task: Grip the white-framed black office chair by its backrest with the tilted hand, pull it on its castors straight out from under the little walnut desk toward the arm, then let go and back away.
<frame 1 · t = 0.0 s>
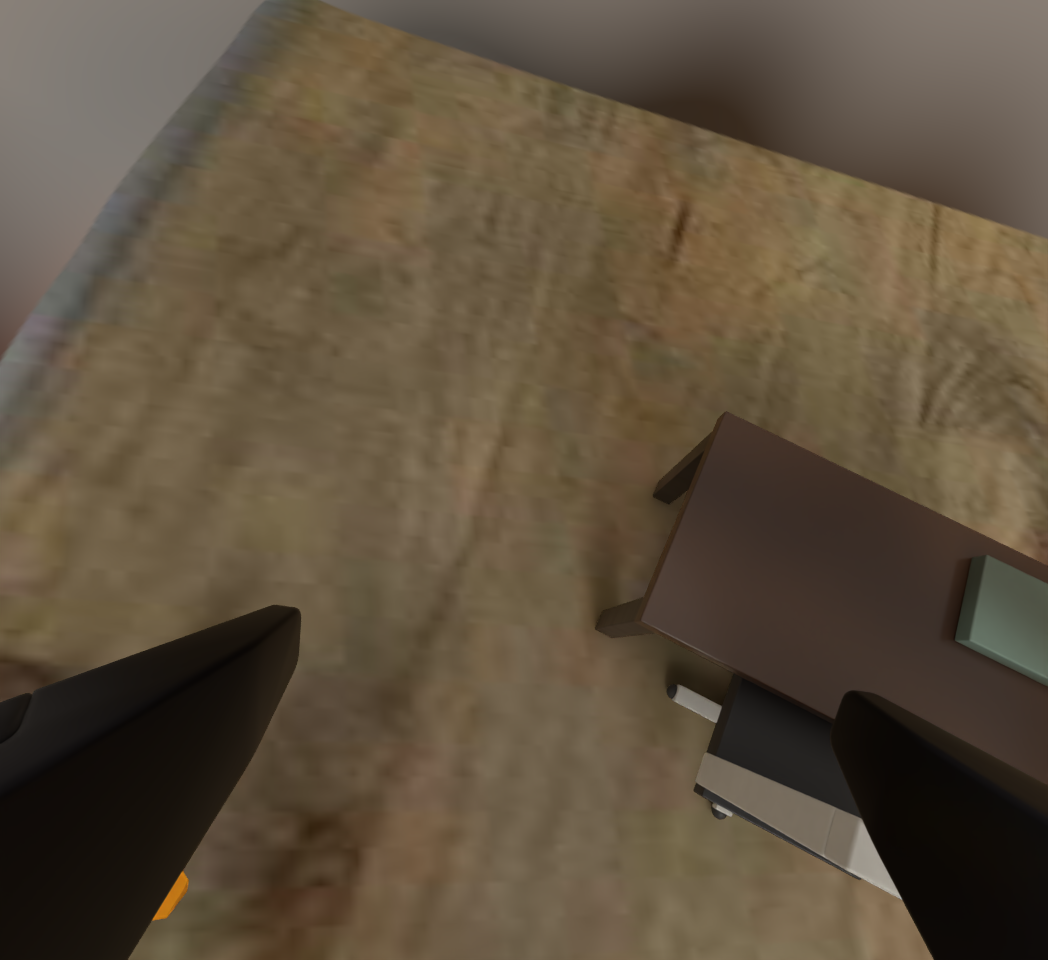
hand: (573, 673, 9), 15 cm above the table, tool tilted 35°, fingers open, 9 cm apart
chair: (742, 728, 23), on the table
toy figure: (218, 763, 21), on the table
desk: (775, 625, 24), on the table
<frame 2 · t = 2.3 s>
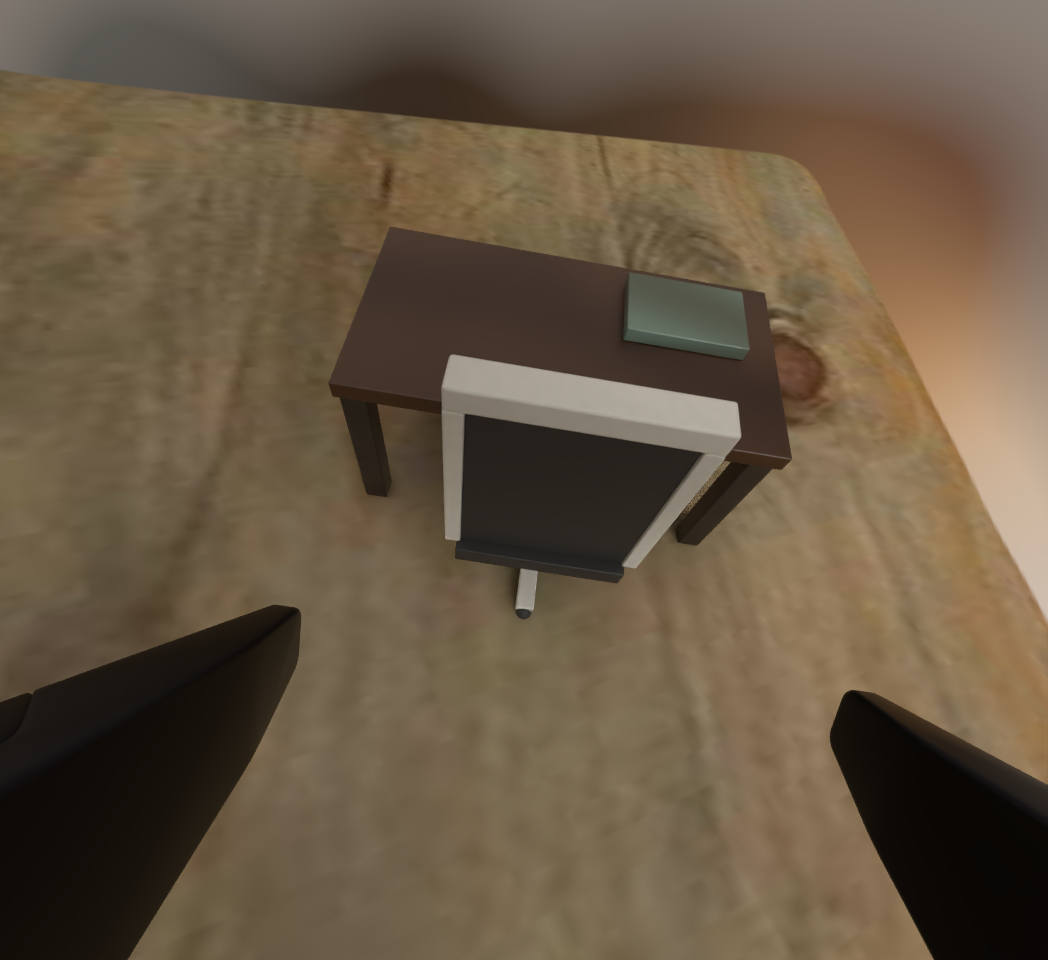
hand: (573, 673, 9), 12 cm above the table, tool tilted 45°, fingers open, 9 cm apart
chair: (531, 538, 23), on the table
desk: (542, 448, 26), on the table
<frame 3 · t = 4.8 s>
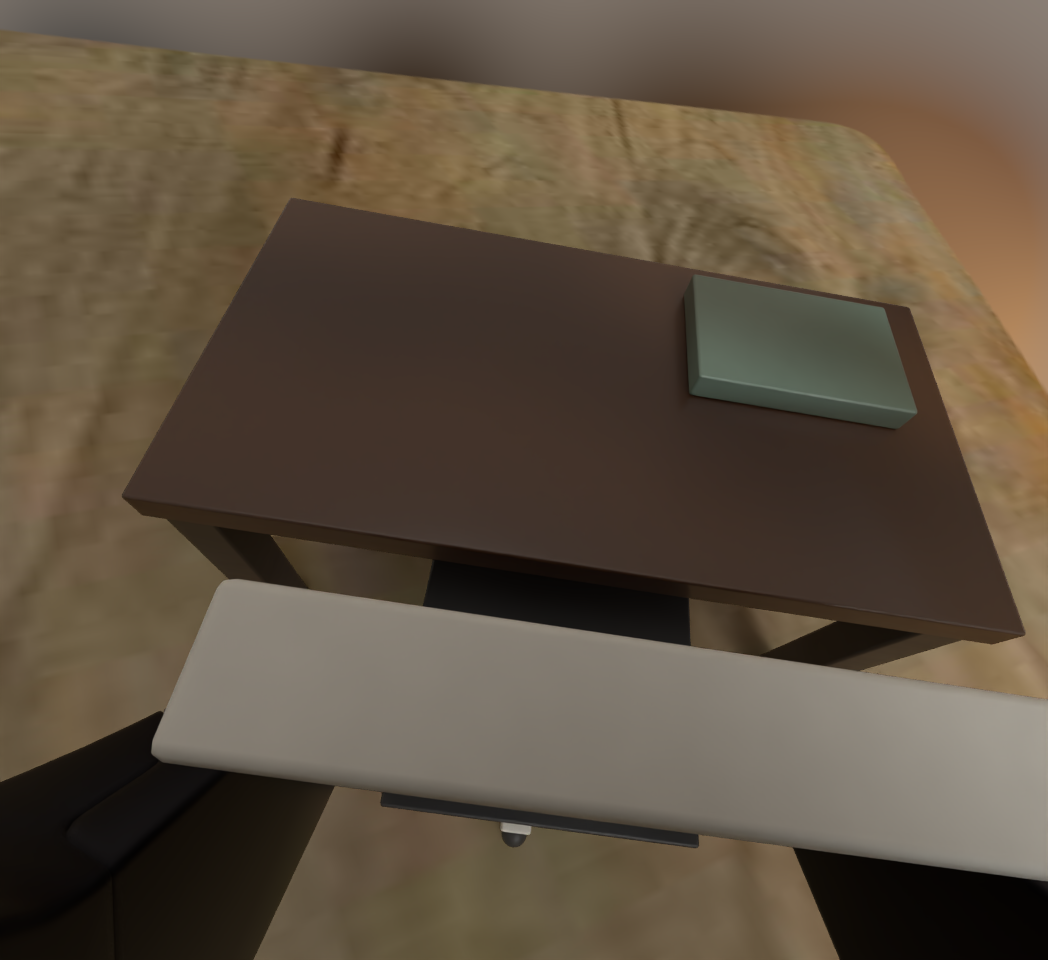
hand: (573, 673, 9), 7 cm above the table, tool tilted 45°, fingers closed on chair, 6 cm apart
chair: (528, 689, 15), on the table, touching gripper
desk: (544, 534, 17), on the table
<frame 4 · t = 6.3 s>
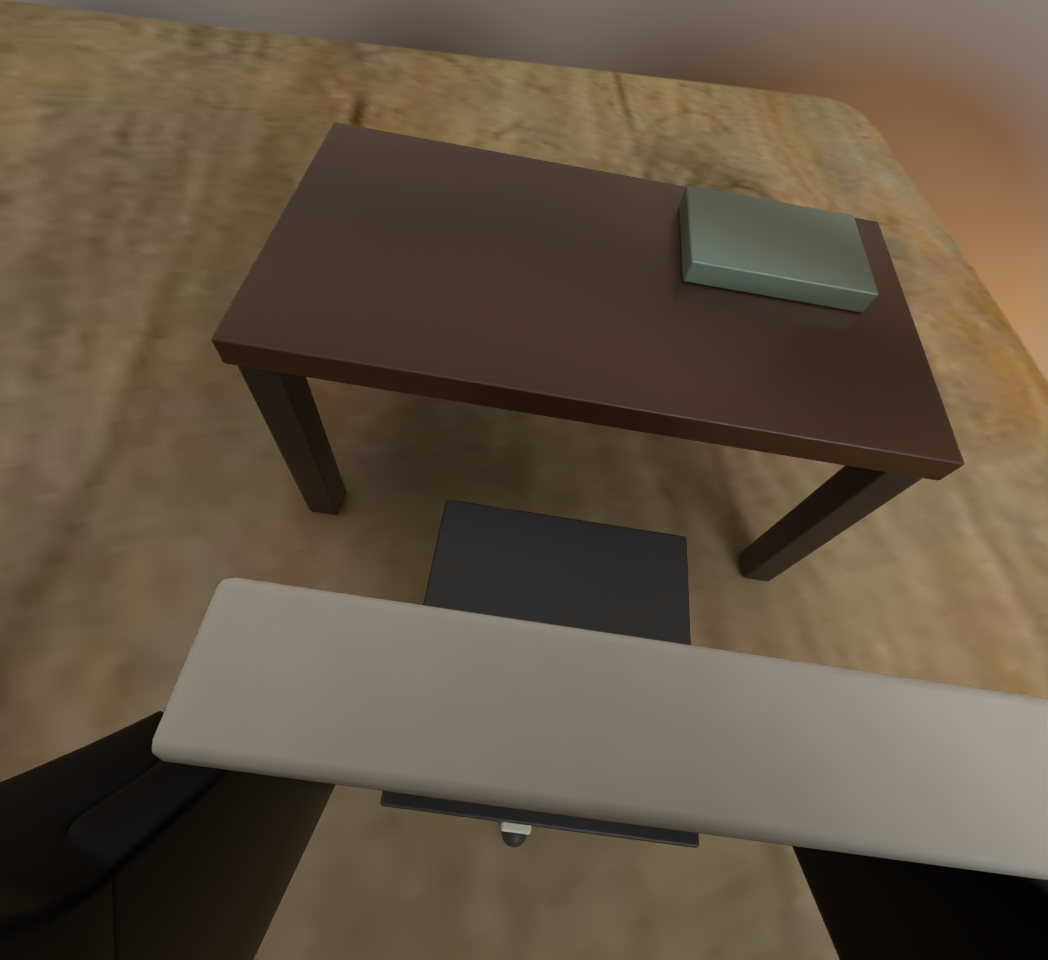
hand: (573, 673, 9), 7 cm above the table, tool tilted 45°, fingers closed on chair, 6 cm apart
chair: (528, 689, 15), on the table, touching gripper
desk: (553, 447, 19), on the table
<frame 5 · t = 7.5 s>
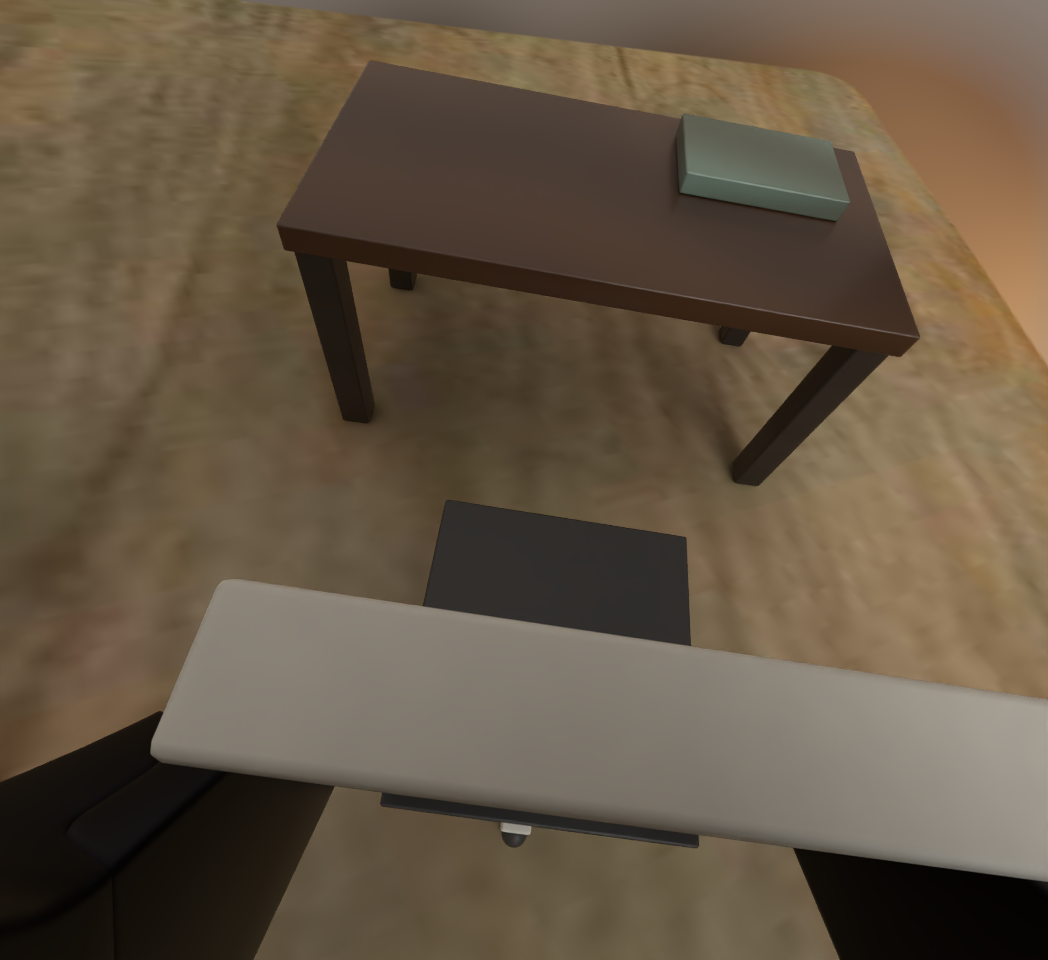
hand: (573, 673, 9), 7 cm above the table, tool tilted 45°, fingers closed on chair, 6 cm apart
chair: (528, 689, 15), on the table, touching gripper
desk: (562, 371, 21), on the table
when the fingers open (7 cm above the table, at t = 8.0 s): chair stays where it is, on the table.
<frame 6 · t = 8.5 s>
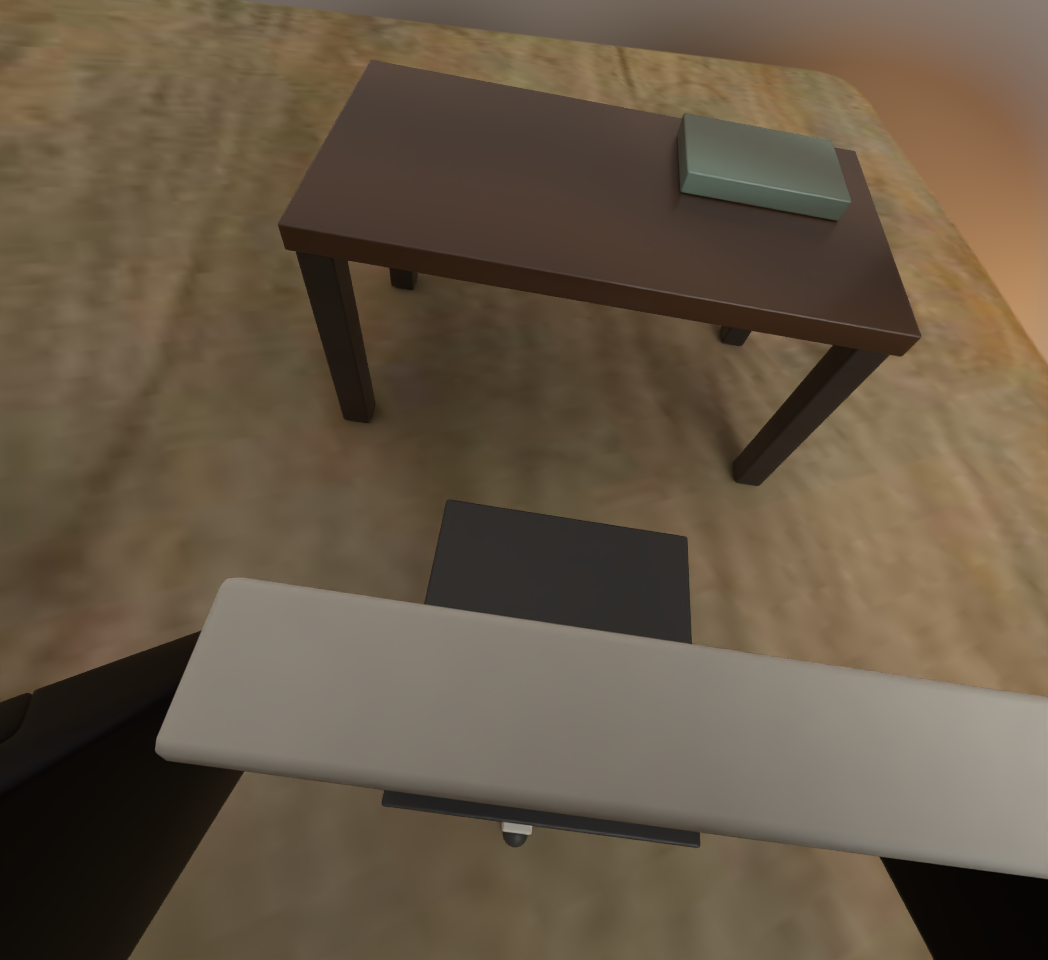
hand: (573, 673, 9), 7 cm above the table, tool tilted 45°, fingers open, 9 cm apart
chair: (528, 689, 15), on the table
desk: (563, 370, 21), on the table
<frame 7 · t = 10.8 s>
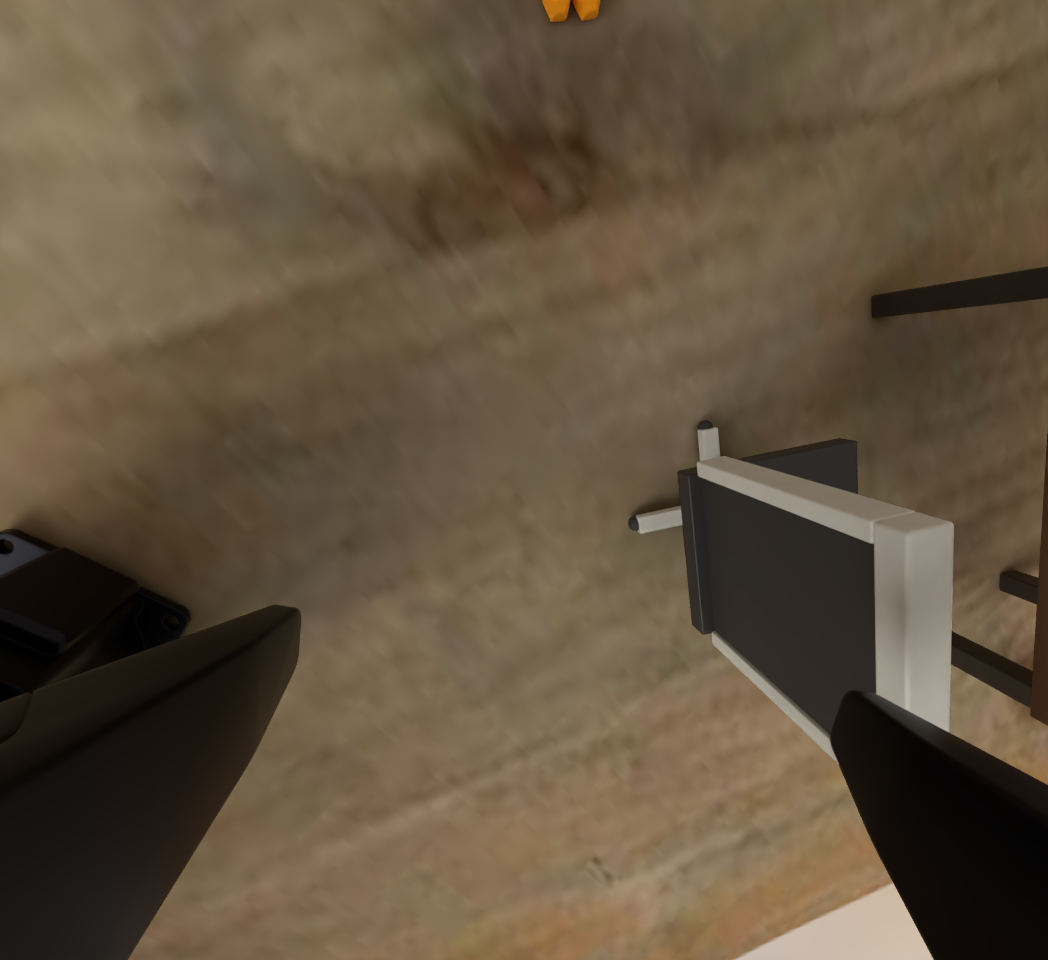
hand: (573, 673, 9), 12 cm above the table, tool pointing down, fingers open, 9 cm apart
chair: (708, 505, 23), on the table
desk: (949, 454, 24), on the table
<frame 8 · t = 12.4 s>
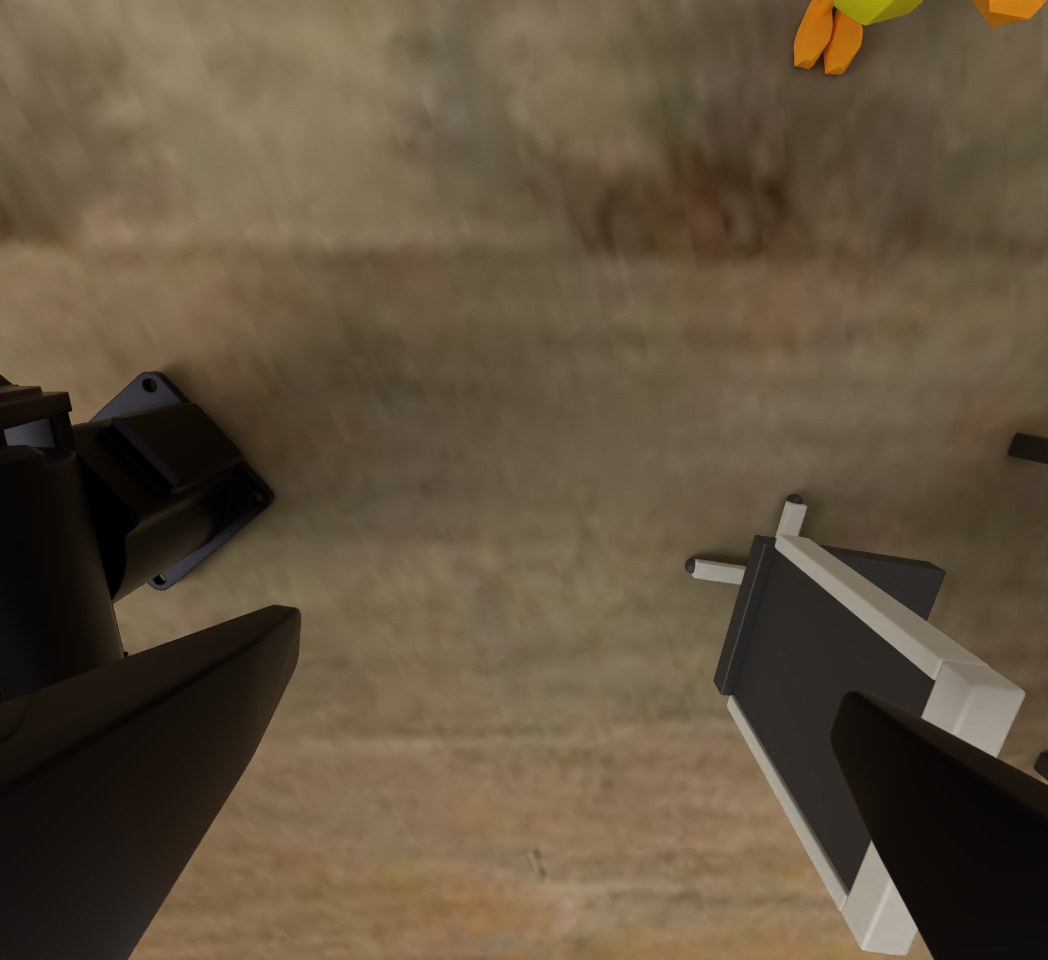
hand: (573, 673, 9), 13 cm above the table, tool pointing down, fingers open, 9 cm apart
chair: (768, 575, 22), on the table
toy figure: (818, 46, 18), on the table
desk: (1034, 616, 23), on the table
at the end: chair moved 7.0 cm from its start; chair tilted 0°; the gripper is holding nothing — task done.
